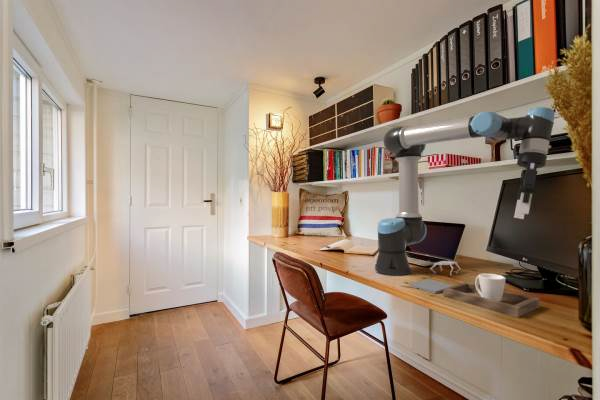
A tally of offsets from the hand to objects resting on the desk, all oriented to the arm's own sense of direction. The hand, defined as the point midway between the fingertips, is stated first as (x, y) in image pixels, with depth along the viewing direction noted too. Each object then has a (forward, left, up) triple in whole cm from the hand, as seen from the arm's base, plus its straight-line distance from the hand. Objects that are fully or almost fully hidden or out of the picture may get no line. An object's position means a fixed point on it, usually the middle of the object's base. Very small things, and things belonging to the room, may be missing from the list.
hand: (520, 216), depth 96 cm
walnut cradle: (-2, -17, -25) cm, 31 cm away
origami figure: (-30, +3, -26) cm, 40 cm away
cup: (-2, -17, -26) cm, 31 cm away
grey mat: (-21, -18, -25) cm, 38 cm away
